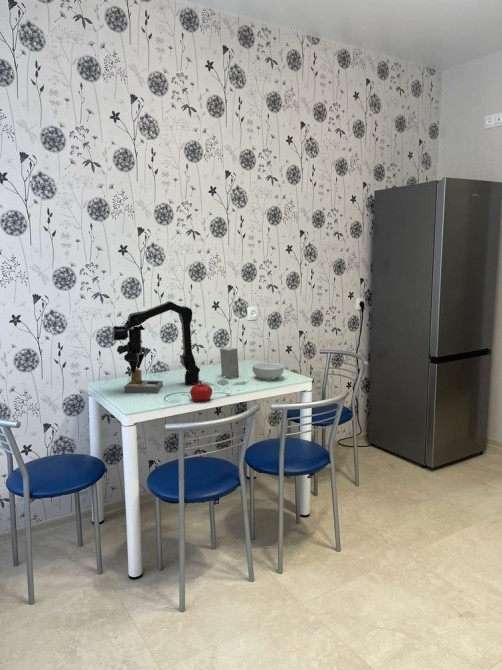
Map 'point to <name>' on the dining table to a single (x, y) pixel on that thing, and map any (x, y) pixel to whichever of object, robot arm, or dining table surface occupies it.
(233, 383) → the dining table surface
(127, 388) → the socket block
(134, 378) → the walnut plug
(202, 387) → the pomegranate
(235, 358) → the skincare box
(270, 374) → the cereal bowl
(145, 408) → the dining table surface
